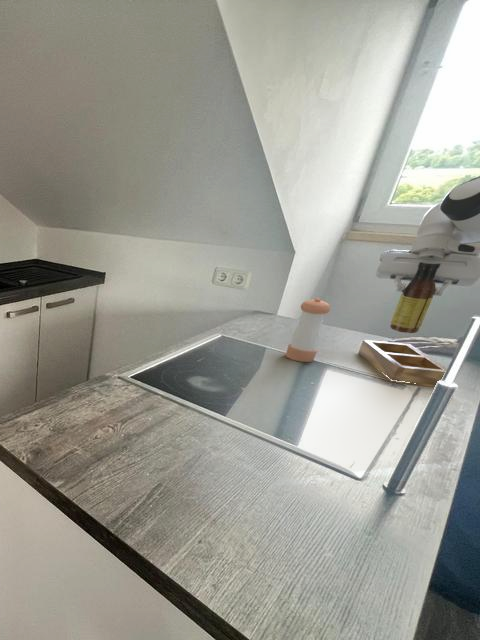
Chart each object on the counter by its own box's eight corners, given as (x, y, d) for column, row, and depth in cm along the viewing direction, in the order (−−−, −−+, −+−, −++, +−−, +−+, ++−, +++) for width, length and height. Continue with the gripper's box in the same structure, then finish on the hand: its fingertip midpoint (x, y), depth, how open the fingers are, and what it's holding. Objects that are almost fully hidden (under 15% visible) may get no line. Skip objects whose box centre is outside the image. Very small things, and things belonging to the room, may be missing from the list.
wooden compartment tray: (404, 357, 121) (410, 343, 119) (446, 388, 102) (454, 372, 100) (358, 353, 124) (363, 339, 123) (391, 382, 106) (397, 366, 104)
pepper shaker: (300, 352, 126) (318, 294, 118) (319, 361, 120) (340, 300, 112) (279, 353, 125) (296, 296, 118) (298, 362, 119) (317, 302, 111)
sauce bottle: (405, 326, 116) (434, 259, 108) (424, 334, 111) (456, 264, 103) (381, 326, 117) (409, 259, 109) (399, 333, 111) (429, 264, 103)
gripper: (385, 242, 116) (371, 281, 113) (490, 248, 103) (477, 291, 100) (380, 256, 120) (367, 293, 118) (479, 263, 107) (467, 304, 105)
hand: (418, 292), depth 109 cm, fingers closed on sauce bottle, 6 cm apart
